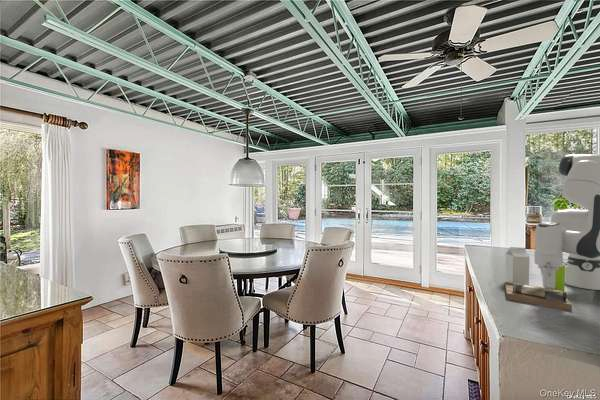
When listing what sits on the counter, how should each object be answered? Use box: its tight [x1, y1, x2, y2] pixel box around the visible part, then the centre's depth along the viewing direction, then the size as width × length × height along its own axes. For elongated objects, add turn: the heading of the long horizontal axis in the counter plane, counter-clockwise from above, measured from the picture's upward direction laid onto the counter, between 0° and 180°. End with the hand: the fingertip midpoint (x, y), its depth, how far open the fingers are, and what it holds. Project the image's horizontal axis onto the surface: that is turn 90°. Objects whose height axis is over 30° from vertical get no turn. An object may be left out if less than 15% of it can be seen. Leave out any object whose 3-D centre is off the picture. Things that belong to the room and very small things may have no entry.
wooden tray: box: [504, 282, 573, 312], centre depth 121 cm, size 22×20×6 cm
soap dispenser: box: [555, 263, 566, 292], centre depth 130 cm, size 6×7×20 cm
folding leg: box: [513, 283, 568, 300], centre depth 115 cm, size 17×4×3 cm, turn 53°
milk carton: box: [504, 246, 530, 285], centre depth 140 cm, size 7×7×19 cm
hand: (547, 293), depth 115 cm, fingers closed, pressing on folding leg
